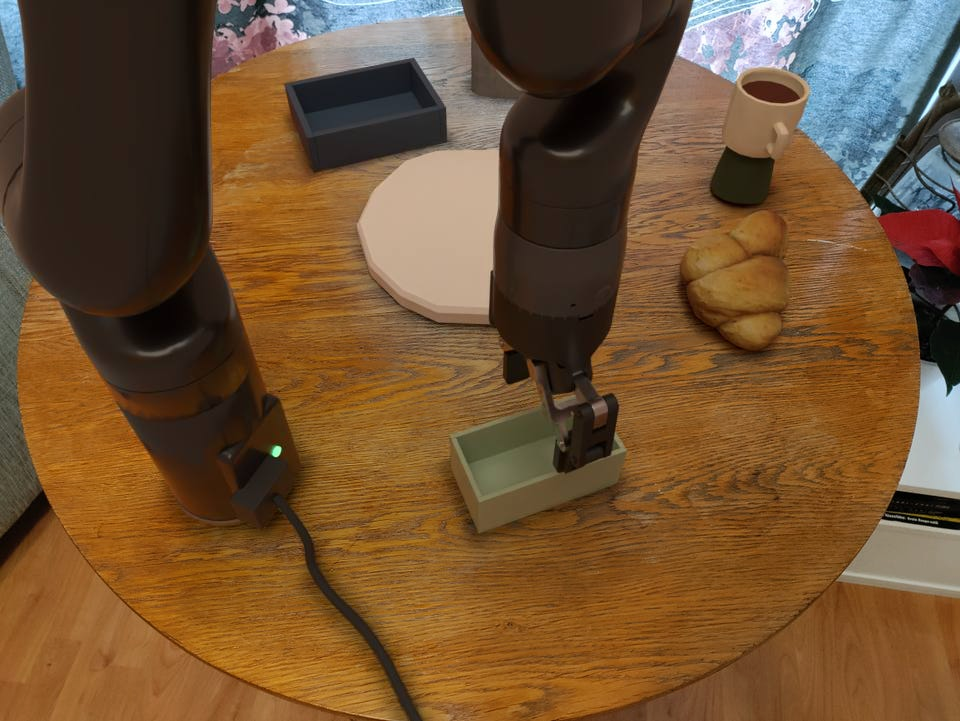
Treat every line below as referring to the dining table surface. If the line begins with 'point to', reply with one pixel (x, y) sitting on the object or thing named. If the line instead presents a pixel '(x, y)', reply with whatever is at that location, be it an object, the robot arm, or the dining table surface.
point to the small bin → (522, 468)
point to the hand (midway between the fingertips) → (541, 420)
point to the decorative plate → (435, 234)
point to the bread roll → (741, 279)
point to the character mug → (757, 132)
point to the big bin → (366, 113)
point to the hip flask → (488, 77)
